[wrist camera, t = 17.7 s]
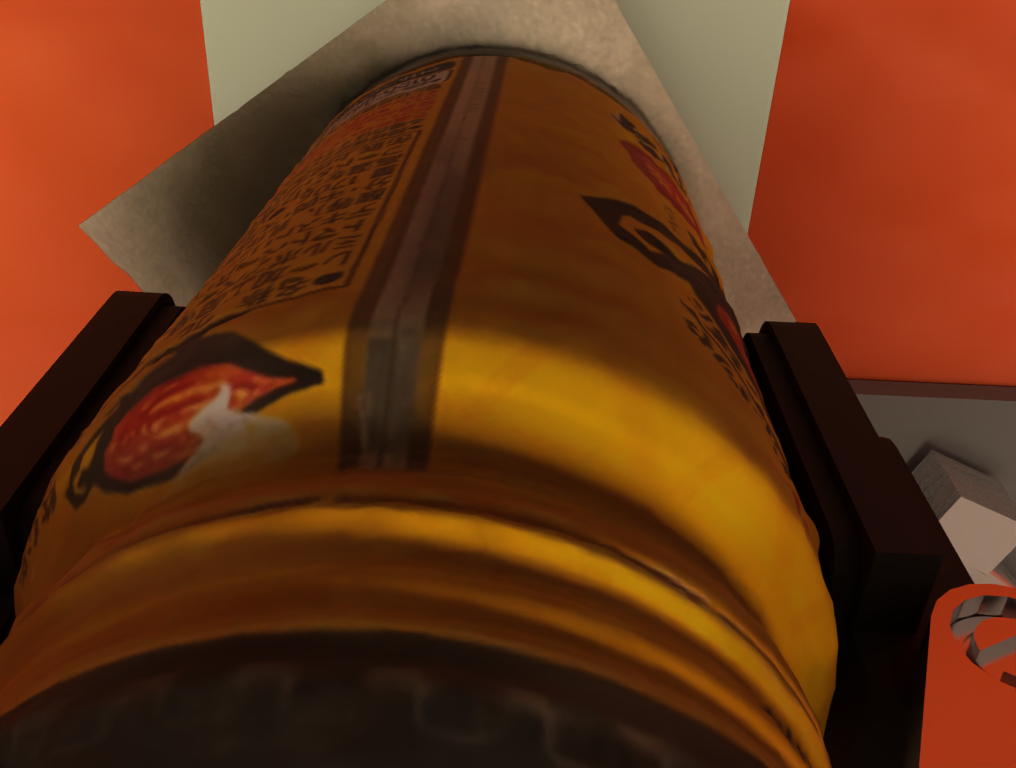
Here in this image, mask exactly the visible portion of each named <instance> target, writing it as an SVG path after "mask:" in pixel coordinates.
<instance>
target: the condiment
mask: <svg viewBox="0 0 1016 768" xmlns="http://www.w3.org/2000/svg"><path fill="white" fill-rule="evenodd" d="M79 227H80V228H81V229H82V230H83V231H84V232H85V233H86V234H87V235H88V236H89V237H90V238H91V239H92V240H93V241H94V242H95V243H96V244H97V245H98V246H99V247H100V249H101V250H102V251H103V252H104V253H105V254H106V255H107V256H108V257H109V259H110V260H111V261H112V262H114V263H115V264H116V265H117V266H118V267H120V268H121V269H122V270H124V271H125V272H126V273H127V274H128V275H129V276H130V277H131V278H132V279H133V280H134V281H135V282H136V284H137V285H138V286H139V287H140V289H141V290H142V291H143V292H151V293H168V294H169V295H170V296H171V297H172V298H173V301H174V303H175V306H184V307H186V308H185V309H184V311H183V312H182V313H181V314H180V315H179V317H177V318H176V319H175V321H174V323H173V324H172V325H171V326H170V327H169V328H168V330H167V331H166V332H165V333H164V334H163V335H162V336H161V337H160V338H159V339H158V340H157V341H156V342H155V343H154V345H153V347H152V348H151V349H150V350H149V351H148V353H147V354H146V355H145V356H144V357H143V358H142V360H141V362H140V363H139V365H138V367H137V368H136V370H135V371H134V372H133V373H132V374H131V376H130V377H129V378H128V379H127V380H126V381H125V382H124V383H122V384H121V385H120V386H119V387H118V388H117V389H116V390H115V391H114V392H113V394H112V395H111V396H110V397H109V398H108V399H107V401H106V402H105V403H104V404H103V406H102V407H101V409H100V411H99V412H98V414H97V415H96V417H95V419H94V420H93V421H92V422H91V424H90V426H89V427H87V428H86V429H85V430H84V431H82V432H81V434H80V437H79V439H78V441H77V442H76V444H75V445H74V446H73V448H72V449H71V450H70V451H68V453H67V454H66V456H65V458H64V459H63V461H62V463H61V464H60V466H59V467H58V469H57V471H56V472H55V474H54V475H53V477H52V479H51V481H50V483H49V486H48V488H47V491H46V493H45V496H44V498H43V501H42V503H41V506H40V507H39V509H38V510H37V515H36V517H35V520H34V522H33V525H32V529H31V533H30V536H29V538H28V541H27V544H26V547H25V551H24V554H23V558H22V565H21V568H20V571H19V574H18V577H17V580H16V583H15V585H14V602H15V615H16V618H15V621H14V623H13V626H12V628H11V631H10V633H9V635H8V637H7V638H6V639H5V640H4V642H3V643H2V644H1V645H0V768H832V766H831V762H830V757H829V754H828V752H827V750H826V748H825V745H824V740H823V736H824V731H825V726H826V721H827V717H828V713H829V709H830V705H831V701H832V697H833V694H834V691H835V686H836V665H837V654H838V639H837V629H836V620H835V616H834V607H833V602H832V599H831V597H830V594H829V592H828V589H827V587H826V584H825V582H824V579H823V576H822V571H821V567H820V562H819V558H818V550H819V544H820V541H819V535H818V531H817V529H816V527H815V525H814V523H813V521H812V520H811V519H810V517H809V516H808V515H807V514H806V512H805V510H804V508H803V505H802V503H801V501H800V498H799V496H798V493H797V491H796V488H795V486H794V484H793V482H792V480H791V478H790V473H789V469H788V464H787V461H786V458H785V455H784V453H783V450H782V447H781V445H780V440H779V438H778V436H777V435H776V433H775V432H774V429H773V425H772V422H771V419H770V417H769V414H768V412H767V409H766V407H765V404H764V401H763V397H762V393H761V391H760V389H759V387H758V384H757V381H756V378H755V376H754V374H753V371H752V369H751V367H750V360H749V354H748V350H747V348H746V345H745V343H744V340H743V337H744V335H745V334H746V333H759V331H760V328H761V326H762V324H763V323H764V322H765V321H776V322H796V319H795V318H794V316H793V314H792V312H791V311H790V309H789V307H788V305H787V304H786V302H785V300H784V298H783V296H782V295H781V293H780V291H779V289H778V288H777V286H776V284H775V282H774V281H773V279H772V277H771V275H770V274H769V272H768V270H767V268H766V267H765V265H764V263H763V261H762V258H761V257H760V255H759V254H758V252H757V251H756V249H755V247H754V245H753V244H752V242H751V240H750V238H749V237H748V235H747V233H746V231H745V230H744V228H743V226H742V224H741V223H740V221H739V219H738V217H737V215H736V214H735V212H734V210H733V208H732V207H731V205H730V203H729V201H728V200H727V198H726V196H725V194H724V193H723V191H722V189H721V187H720V185H719V184H718V182H717V180H716V179H715V177H714V175H713V173H712V171H711V169H710V168H709V166H708V164H707V163H706V161H705V159H704V157H703V155H702V154H701V152H700V150H699V148H698V147H697V145H696V143H695V142H694V140H693V138H692V136H691V134H690V133H689V131H688V129H687V127H686V126H685V124H684V122H683V120H682V119H681V117H680V115H679V113H678V112H677V110H676V108H675V106H674V105H673V103H672V101H671V99H670V98H669V96H668V94H667V92H666V91H665V89H664V87H663V85H662V84H661V82H660V80H659V78H658V77H657V75H656V73H655V71H654V70H653V68H652V66H651V64H650V63H649V61H648V59H647V57H646V56H645V54H644V52H643V50H642V49H641V47H640V45H639V43H638V41H637V40H636V38H635V36H634V34H633V33H632V31H631V29H630V27H629V26H628V24H627V22H626V21H625V19H624V17H623V15H622V13H621V11H620V9H619V7H618V5H617V4H616V2H615V1H614V0H386V1H384V2H383V3H381V4H380V5H379V6H377V7H376V8H375V9H373V10H372V11H371V12H369V13H368V14H366V15H365V16H363V17H362V18H361V19H359V20H358V21H356V22H355V23H354V24H353V25H351V26H350V27H349V28H347V29H346V30H345V31H343V32H342V33H341V34H339V35H338V36H336V37H335V38H334V39H332V40H331V41H330V42H328V43H327V44H325V45H324V46H323V47H321V48H320V49H319V50H317V51H316V52H315V53H313V54H312V55H311V56H309V57H308V58H306V59H305V60H304V61H302V62H301V63H300V64H298V65H297V66H296V67H294V68H293V69H291V70H290V71H288V72H286V73H285V74H284V75H283V76H282V77H280V78H279V79H278V80H276V81H275V82H274V83H272V84H271V85H270V86H268V87H267V88H266V89H264V90H263V91H262V92H260V93H259V94H257V95H256V96H255V97H253V98H252V99H251V100H249V101H248V102H247V103H245V104H244V105H243V106H241V107H240V108H239V109H238V110H237V111H235V112H233V113H232V114H230V115H229V116H227V117H226V118H225V119H223V120H222V121H220V122H219V123H218V124H216V125H215V126H214V127H212V128H211V129H210V130H208V131H207V132H205V133H204V134H202V135H201V136H200V137H198V138H197V139H196V140H195V141H193V142H192V143H190V144H189V145H188V146H186V147H185V148H184V149H182V150H181V151H179V152H177V153H176V154H174V155H173V156H172V157H171V158H169V159H168V160H167V161H166V162H164V163H163V164H162V165H160V166H159V167H158V168H156V169H155V170H154V171H152V172H151V173H150V174H148V175H147V176H145V177H144V178H143V179H142V180H140V181H139V182H138V183H136V184H135V185H134V186H132V187H131V188H129V189H128V190H127V191H125V192H124V193H122V194H121V195H120V196H118V197H117V198H115V199H114V200H113V201H111V202H110V203H109V204H107V205H106V206H105V207H103V208H102V209H100V210H99V211H98V212H96V213H95V214H94V215H92V216H91V217H90V218H88V219H87V220H85V221H84V222H83V223H81V224H80V225H79Z"/></svg>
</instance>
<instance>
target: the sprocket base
mask: <svg viewBox="0 0 1016 768" xmlns="http://www.w3.org/2000/svg"><path fill="white" fill-rule="evenodd" d="M847 380H848V381H849V383H850V385H851V387H852V389H853V391H854V392H855V394H856V396H857V398H858V400H859V401H860V403H861V405H862V407H863V409H864V411H865V412H866V414H867V416H868V418H869V420H870V421H871V423H872V425H873V427H874V429H875V431H876V432H877V434H878V436H879V437H886V438H889V439H891V441H892V442H893V443H894V444H895V445H896V447H897V448H898V450H899V452H900V454H901V455H902V457H903V459H904V461H905V462H906V464H907V466H908V468H909V469H910V471H911V473H912V472H913V470H914V469H915V468H916V467H917V466H918V465H919V464H920V462H921V461H922V460H923V459H924V458H925V457H926V456H927V454H928V453H929V452H930V451H931V450H933V451H935V452H938V453H940V454H942V455H944V456H946V457H949V458H951V459H953V460H955V461H957V462H959V463H962V464H964V465H966V466H968V467H970V468H973V469H975V470H977V471H979V472H981V473H983V474H986V475H988V476H990V477H992V478H994V479H997V480H999V481H1000V482H1001V484H1002V485H1003V487H1004V488H1005V489H1006V491H1007V492H1008V494H1009V495H1010V497H1011V498H1012V499H1013V501H1014V502H1015V504H1016V387H1006V386H983V385H961V384H939V383H917V382H895V381H873V380H850V379H847ZM1001 562H1002V563H1003V564H1004V565H1005V566H1006V567H1007V569H1008V570H1009V572H1010V573H1011V575H1012V576H1013V578H1014V579H1015V581H1016V547H1015V548H1014V549H1013V550H1012V551H1011V552H1010V553H1009V554H1008V555H1007V556H1006V557H1005V558H1004V559H1003V560H1002V561H1001Z"/></svg>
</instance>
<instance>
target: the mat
mask: <svg viewBox="0 0 1016 768" xmlns="http://www.w3.org/2000/svg"><path fill="white" fill-rule="evenodd" d="M384 1H386V0H200V4H201V12H202V21H203V30H204V39H205V47H206V56H207V65H208V74H209V83H210V91H211V100H212V109H213V118H214V126H215V125H216V124H218V123H219V122H220V121H222V120H223V119H225V118H226V117H227V116H229V115H230V114H232V113H233V112H235V111H237V110H238V109H239V108H240V107H241V106H243V105H244V104H245V103H247V102H248V101H249V100H251V99H252V98H253V97H255V96H256V95H257V94H259V93H260V92H262V91H263V90H264V89H266V88H267V87H268V86H270V85H271V84H272V83H274V82H275V81H276V80H278V79H279V78H280V77H282V76H283V75H284V74H285V73H286V72H288V71H290V70H291V69H293V68H294V67H296V66H297V65H298V64H300V63H301V62H302V61H304V60H305V59H306V58H308V57H309V56H311V55H312V54H313V53H315V52H316V51H317V50H319V49H320V48H321V47H323V46H324V45H325V44H327V43H328V42H330V41H331V40H332V39H334V38H335V37H336V36H338V35H339V34H341V33H342V32H343V31H345V30H346V29H347V28H349V27H350V26H351V25H353V24H354V23H355V22H356V21H358V20H359V19H361V18H362V17H363V16H365V15H366V14H368V13H369V12H371V11H372V10H373V9H375V8H376V7H377V6H379V5H380V4H381V3H383V2H384ZM614 1H615V2H616V4H617V5H618V7H619V9H620V11H621V13H622V15H623V17H624V19H625V21H626V22H627V24H628V26H629V27H630V29H631V31H632V33H633V34H634V36H635V38H636V40H637V41H638V43H639V45H640V47H641V49H642V50H643V52H644V54H645V56H646V57H647V59H648V61H649V63H650V64H651V66H652V68H653V70H654V71H655V73H656V75H657V77H658V78H659V80H660V82H661V84H662V85H663V87H664V89H665V91H666V92H667V94H668V96H669V98H670V99H671V101H672V103H673V105H674V106H675V108H676V110H677V112H678V113H679V115H680V117H681V119H682V120H683V122H684V124H685V126H686V127H687V129H688V131H689V133H690V134H691V136H692V138H693V140H694V142H695V143H696V145H697V147H698V148H699V150H700V152H701V154H702V155H703V157H704V159H705V161H706V163H707V164H708V166H709V168H710V169H711V171H712V173H713V175H714V177H715V179H716V180H717V182H718V184H719V185H720V187H721V189H722V191H723V193H724V194H725V196H726V198H727V200H728V201H729V203H730V205H731V207H732V208H733V210H734V212H735V214H736V215H737V217H738V219H739V221H740V223H741V224H742V226H743V228H744V230H745V231H746V233H747V234H748V229H749V223H750V218H751V212H752V207H753V201H754V196H755V190H756V185H757V179H758V174H759V168H760V163H761V157H762V152H763V146H764V141H765V135H766V130H767V124H768V119H769V113H770V108H771V102H772V97H773V91H774V85H775V80H776V74H777V69H778V63H779V58H780V52H781V47H782V41H783V36H784V30H785V25H786V19H787V14H788V8H789V3H790V0H614Z"/></svg>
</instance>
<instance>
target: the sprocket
mask: <svg viewBox="0 0 1016 768" xmlns="http://www.w3.org/2000/svg"><path fill="white" fill-rule="evenodd" d="M912 475H913V476H914V478H915V480H916V482H917V483H918V485H919V487H920V489H921V490H922V492H923V494H924V496H925V497H926V499H927V501H928V503H929V504H930V506H931V508H932V510H933V512H934V513H935V515H936V517H937V519H938V520H939V522H940V524H941V526H942V527H943V529H944V531H945V533H946V534H947V536H948V538H949V540H950V541H951V543H952V545H953V547H954V548H955V550H956V552H957V554H958V555H959V557H960V559H961V561H962V562H963V564H964V566H965V568H966V570H967V571H968V573H969V575H970V577H971V578H972V580H973V582H974V584H998V585H1003V586H1008V587H1013V588H1016V581H1015V579H1014V578H1013V576H1012V575H1011V573H1010V572H1009V570H1008V569H1007V567H1006V566H1005V565H1004V564H1003V563H1002V562H1001V561H1002V560H1003V559H1004V558H1005V557H1006V556H1007V555H1008V554H1009V553H1010V552H1011V551H1012V550H1013V549H1014V548H1015V547H1016V504H1015V502H1014V501H1013V499H1012V498H1011V497H1010V495H1009V494H1008V492H1007V491H1006V489H1005V488H1004V487H1003V485H1002V484H1001V482H1000V481H999V480H997V479H994V478H992V477H990V476H988V475H986V474H983V473H981V472H979V471H977V470H975V469H973V468H970V467H968V466H966V465H964V464H962V463H959V462H957V461H955V460H953V459H951V458H949V457H946V456H944V455H942V454H940V453H938V452H935V451H933V450H931V451H930V452H929V453H928V454H927V456H926V457H925V458H924V459H923V460H922V461H921V462H920V464H919V465H918V466H917V467H916V468H915V469H914V470H913V472H912Z"/></svg>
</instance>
